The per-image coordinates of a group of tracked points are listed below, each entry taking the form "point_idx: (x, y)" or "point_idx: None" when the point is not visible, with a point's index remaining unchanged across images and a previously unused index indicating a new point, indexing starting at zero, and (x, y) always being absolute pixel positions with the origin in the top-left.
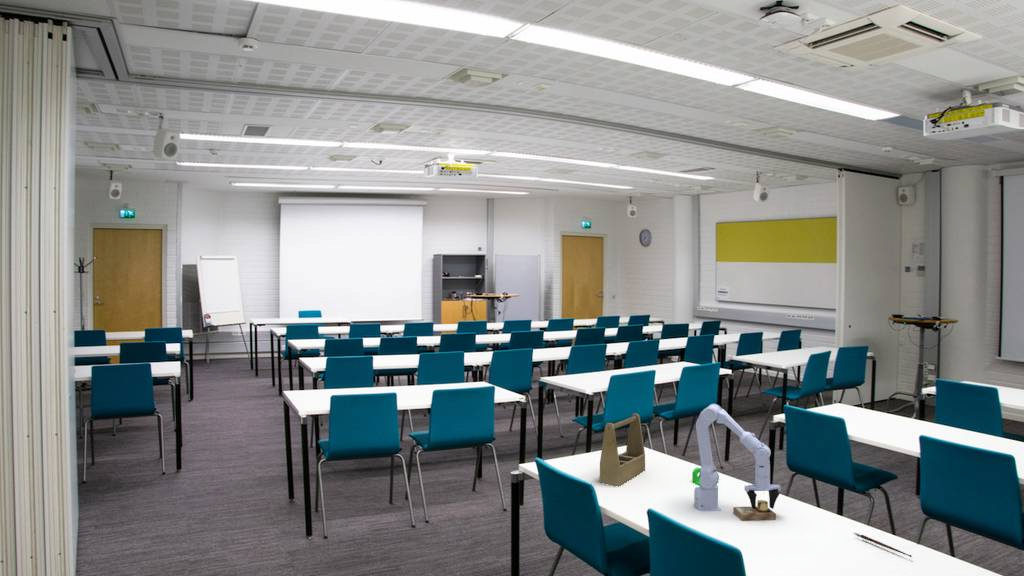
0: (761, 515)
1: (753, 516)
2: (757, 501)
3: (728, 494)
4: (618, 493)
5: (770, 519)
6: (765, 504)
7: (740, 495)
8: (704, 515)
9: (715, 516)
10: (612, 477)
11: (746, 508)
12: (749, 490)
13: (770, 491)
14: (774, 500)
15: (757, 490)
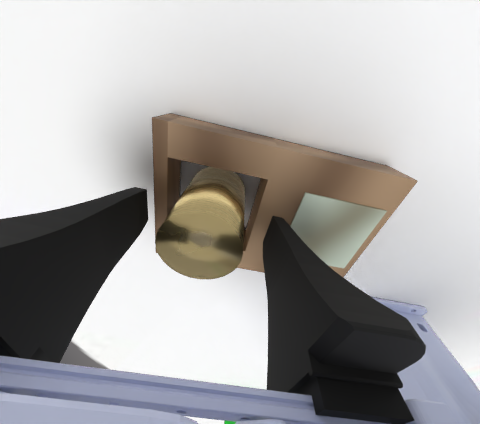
0: (271, 144)
1: (329, 156)
2: (238, 264)
3: (208, 358)
4: None
5: (206, 123)
6: (197, 207)
7: (177, 349)
8: (470, 273)
9: (442, 253)
10: None
11: None
12: (394, 421)
13: (36, 339)
14: (76, 211)
15: (248, 396)
